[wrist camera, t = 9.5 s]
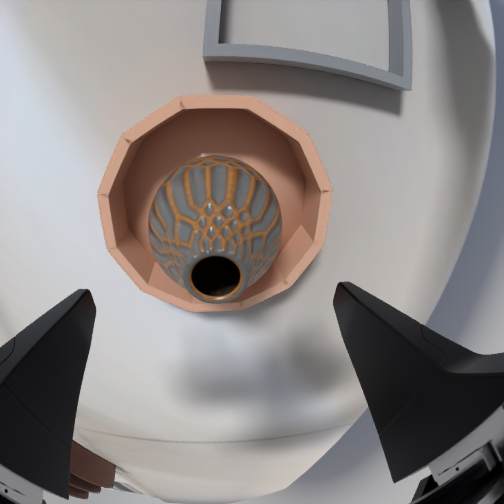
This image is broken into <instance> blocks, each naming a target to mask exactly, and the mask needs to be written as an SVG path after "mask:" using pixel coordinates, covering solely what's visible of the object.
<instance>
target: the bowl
mask: <svg viewBox="0 0 504 504" xmlns="http://www.w3.org/2000/svg"><path fill="white" fill-rule="evenodd" d="M212 155H219V156H227V157H232V158H235V159H238V160H241V161H243V162H245V163H247V164H248V165H250V166H251V167H253V168H254V169H256V170H257V171H258V172H259V173H260V174H261V175H262V176H263V177H264V178H265V179H266V180H267V182H268V183H269V184H270V186H271V187H272V189H273V191H274V193H275V195H276V197H277V199H278V202H279V205H280V209H281V214H282V236H281V242H280V246H279V249H278V252H277V255H276V257H275V259H274V261H273V263H272V264H271V266H270V267H269V269H268V270H267V271H266V272H265V274H264V275H263V276H262V277H261V278H260V279H259V280H257V281H256V282H255V283H253V284H252V285H250V286H249V287H247V288H245V290H244V291H243V292H242V293H241V294H240V295H239V296H238V297H237V298H235V299H233V300H231V301H229V302H225V303H220V304H212V303H206V302H203V301H200V300H198V299H197V298H195V297H194V296H192V295H191V294H190V293H189V292H188V290H187V289H185V288H183V287H181V286H179V285H178V284H176V283H175V282H174V281H173V280H171V279H170V278H169V277H168V276H167V275H166V274H165V272H164V271H163V270H162V269H161V267H160V266H159V264H158V262H157V261H156V259H155V257H154V254H153V251H152V248H151V245H150V240H149V233H148V218H149V212H150V207H151V204H152V201H153V198H154V196H155V194H156V192H157V190H158V189H159V187H160V186H161V184H162V183H163V182H164V180H165V179H166V178H167V177H168V176H169V175H170V174H171V173H172V172H173V171H174V170H176V169H177V168H178V167H180V166H181V165H183V164H185V163H186V162H188V161H191V160H193V159H196V158H199V157H204V156H212ZM332 192H333V190H332V186H331V184H330V181H329V179H328V176H327V174H326V171H325V169H324V167H323V164H322V162H321V160H320V157H319V155H318V153H317V150H316V148H315V146H314V143H313V141H312V139H311V137H310V135H309V134H308V132H306V131H305V130H304V129H302V128H301V127H299V126H298V125H296V124H295V123H294V122H292V121H291V120H289V119H288V118H286V117H285V116H283V115H282V114H280V113H279V112H277V111H276V110H274V109H272V108H271V107H269V106H268V105H266V104H265V103H263V102H261V101H260V100H258V99H256V98H255V97H253V96H252V97H251V96H247V95H191V96H180V97H177V98H175V99H174V100H172V101H170V102H169V103H167V104H166V105H164V106H162V107H161V108H159V109H158V110H156V111H155V112H153V113H152V114H150V115H149V116H147V117H146V118H144V119H143V120H141V121H140V122H139V123H137V124H136V125H134V126H133V127H132V128H130V129H129V130H127V131H126V132H125V133H123V134H122V136H121V137H120V139H119V141H118V143H117V145H116V148H115V150H114V152H113V154H112V157H111V159H110V161H109V164H108V166H107V169H106V171H105V174H104V176H103V179H102V181H101V184H100V187H99V189H98V192H97V193H98V194H97V197H98V204H99V211H100V217H101V222H102V228H103V233H104V238H105V243H106V248H107V249H108V250H107V251H108V252H109V253H110V254H111V256H112V257H113V258H114V259H115V260H116V262H117V263H118V264H119V265H120V267H121V268H122V269H123V270H124V271H125V272H126V274H127V275H128V276H129V277H130V278H131V279H132V281H133V282H134V283H135V284H136V285H137V286H138V287H139V289H140V290H141V291H142V290H143V292H145V293H147V294H149V295H152V296H154V297H156V298H158V299H161V300H163V301H166V302H168V303H170V304H173V305H175V306H177V307H180V308H182V309H185V310H187V311H191V312H205V311H237V310H242V308H243V310H245V309H247V308H249V307H251V306H253V305H255V304H257V303H259V302H261V301H264V300H266V299H268V298H270V297H272V296H274V295H276V294H278V293H280V292H282V291H284V290H286V289H288V288H290V286H292V285H293V284H294V282H295V281H296V280H297V279H298V277H299V276H300V275H301V274H302V272H303V271H304V270H305V269H306V267H307V266H308V265H309V264H310V262H311V261H312V260H313V258H314V257H315V256H316V255H317V253H318V252H319V251H320V249H321V248H322V247H323V244H324V242H325V236H326V230H327V224H328V218H329V212H330V206H331V199H332Z"/></svg>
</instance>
